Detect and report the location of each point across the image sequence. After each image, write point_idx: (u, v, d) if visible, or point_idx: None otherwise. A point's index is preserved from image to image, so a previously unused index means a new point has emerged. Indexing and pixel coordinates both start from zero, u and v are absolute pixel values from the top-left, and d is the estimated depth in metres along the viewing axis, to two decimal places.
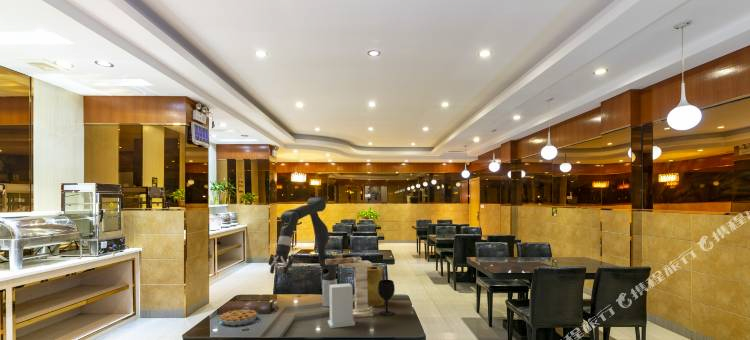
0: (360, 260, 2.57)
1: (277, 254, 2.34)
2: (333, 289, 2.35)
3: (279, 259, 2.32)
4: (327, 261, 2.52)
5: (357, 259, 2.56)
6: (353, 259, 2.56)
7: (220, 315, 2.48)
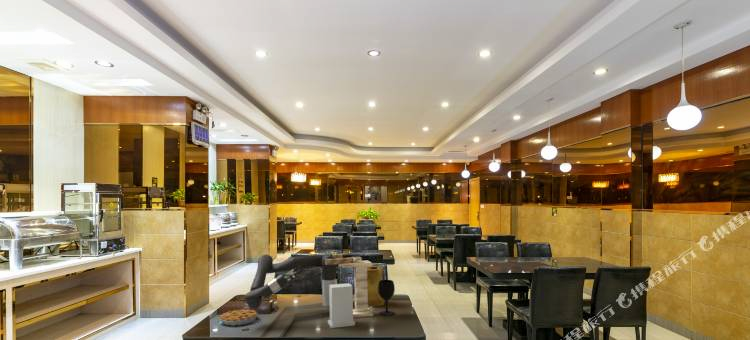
0: (360, 260, 2.57)
1: None
2: (333, 289, 2.35)
3: None
4: (327, 261, 2.52)
5: (357, 259, 2.56)
6: (353, 259, 2.56)
7: (220, 315, 2.48)
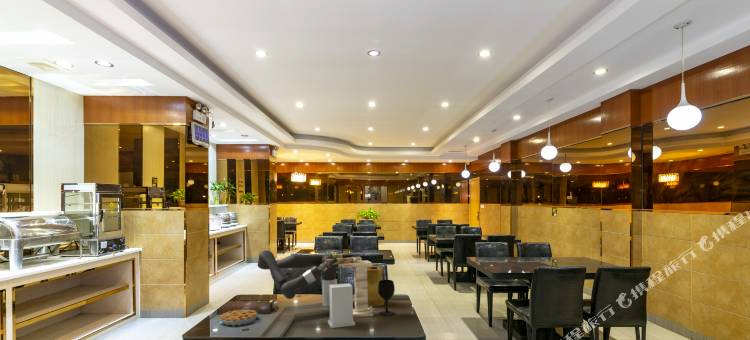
0: (360, 260, 2.57)
1: None
2: (333, 289, 2.35)
3: None
4: (327, 261, 2.52)
5: (357, 259, 2.56)
6: (353, 259, 2.56)
7: (220, 315, 2.48)
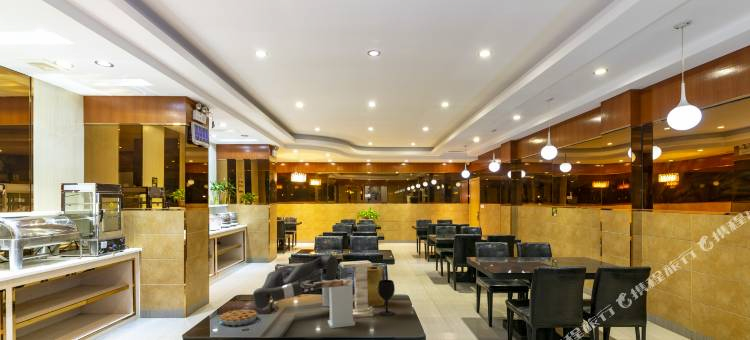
0: (350, 282, 2.39)
1: None
2: (333, 289, 2.35)
3: None
4: None
5: (347, 281, 2.39)
6: (343, 282, 2.39)
7: (220, 315, 2.48)
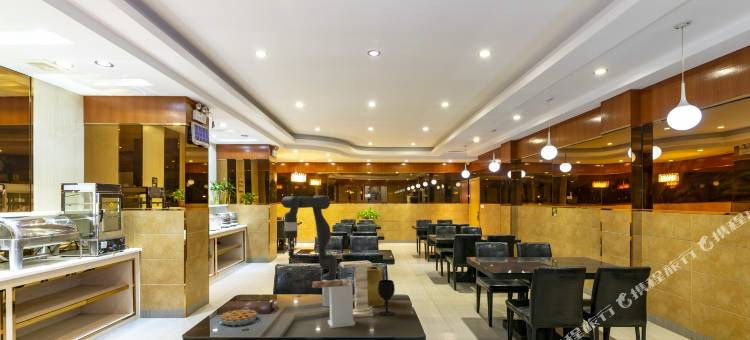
0: (350, 283, 2.39)
1: None
2: (333, 289, 2.35)
3: None
4: (314, 284, 2.35)
5: (347, 282, 2.38)
6: (342, 282, 2.38)
7: (220, 315, 2.48)
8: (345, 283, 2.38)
